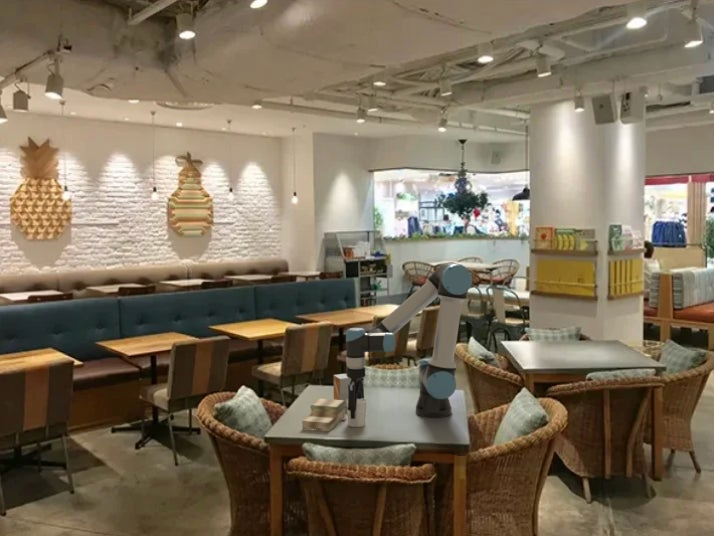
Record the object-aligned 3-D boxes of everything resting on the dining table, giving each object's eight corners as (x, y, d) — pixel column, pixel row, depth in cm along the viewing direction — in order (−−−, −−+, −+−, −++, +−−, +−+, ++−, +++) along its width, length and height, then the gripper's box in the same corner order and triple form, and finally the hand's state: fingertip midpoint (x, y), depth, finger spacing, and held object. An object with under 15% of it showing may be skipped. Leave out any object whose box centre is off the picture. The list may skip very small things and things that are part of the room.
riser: (349, 416, 272) (348, 400, 271) (333, 432, 253) (333, 414, 252) (319, 414, 276) (319, 398, 275) (302, 429, 256) (301, 411, 256)
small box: (333, 403, 293) (333, 374, 292) (346, 401, 295) (346, 373, 294) (340, 407, 285) (339, 378, 284) (353, 406, 288) (353, 377, 287)
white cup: (364, 428, 257) (364, 403, 256) (344, 427, 258) (344, 402, 258) (368, 422, 264) (367, 398, 264) (349, 421, 266) (348, 397, 265)
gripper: (354, 361, 270) (354, 415, 272) (338, 372, 251) (339, 430, 253) (371, 362, 268) (372, 416, 270) (357, 373, 249) (358, 431, 250)
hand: (356, 423), depth 261 cm, fingers closed on white cup, 7 cm apart
